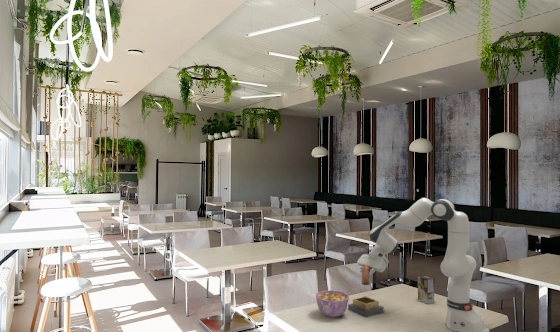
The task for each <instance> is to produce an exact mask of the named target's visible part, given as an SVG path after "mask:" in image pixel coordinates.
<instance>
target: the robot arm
mask: <svg viewBox="0 0 560 332" xmlns="http://www.w3.org/2000/svg"><path fill="white" fill-rule="evenodd" d="M430 216H434V218H436V219H439V220H442V221H445V222H447V246H446V251H445V256H444V257H443V260H442V261H441V263H440V266H439V267H440V271H441V273H442V274H443V275H444V276H446V277H447V278H450V281H449V283H448V284H447V298H446V306H447V307H446V309H447V311H446V317H445V321H444V325H445V326H446V328H447V330H451V331H454V332H457V331H458V332H490V329H489V328H487V327H485V320H484V319H483V318H482V317H481V315H479V314H478V313H477V312H476V311H475V309H473V307H474V305H475V304H472V303H471V301H470V288H471V283H472V279H473V276H474V275H473V274H474V272H475V270H476V268H477V262H476V259H475V258H474V257H473V256H471V255H469V254H467V252H468V250H469V248H470V245H471V243H470V239H471V238H470V237H471V236H470V232H471V231H470V222H469V217H468V215H467V214H466V213H465V212H463V211H457V210H456V206H455V204H454V202H453V201H451V200H450V199H447V198H440V199H437V200H435V201H432V200H431V199H429V198H427V197H421V198H420V199H418V200H417V201H415V202H414V203H413V204H412V205H411V206H410V207H409V208H408V209H407V210H404V211H397V212H395V213H394V214H393V215H390V217H388V218H387V219H385V220H384V221H383V222H381V223H380V224H378V225H377V226H375V227H373V228H372V229H371V230H370V232H369V234H368V235H369V240H370V242H373V243H374V244H375V245H374V246H373V247H372V249H371V250H370V252H369V253H367V252H365V253H363V254H362V255H361V256H360V257H359V258H358V259H357V262H356V263H357V265H358V266H359V267H362V265H367V266H370V272H368V275H370V277H371V276H372V275H373V274H374V273H376V272H379V273H383V272H385V270H386V269H387V266H388V264H389V262H390V260H389V259H388V258H387V256H386V254H394V253H395V252H396V251H397V249H398V248H399V241H398V239H396V238H395V237H393V236H392V235H391V234H390V233H388V232H387V231H386V230H387V229H389V228H390V227H392V226H393V225H395V224H400V225H404V226H407V227H411V228H415V227H419V226H421V225H422V224H423V223H424V222H425V221H426V220H427V219H428V218H429V217H430ZM359 270H360V271H359V272H360V273H361V274H362V269H359Z"/></svg>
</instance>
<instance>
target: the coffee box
mask: <svg viewBox="0 0 560 332" xmlns="http://www.w3.org/2000/svg"><path fill="white" fill-rule="evenodd" d="M417 300H418V301H419V302H422V303H424V304H427V305H430V304H434V303H435V278H434V277H432V276H428V275H425V274H424V275H418V276H417Z"/></svg>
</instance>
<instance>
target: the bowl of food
mask: <svg viewBox="0 0 560 332" xmlns="http://www.w3.org/2000/svg"><path fill="white" fill-rule="evenodd" d="M315 298H316V303H317V307H318V310H319V311H320V313H321V314H323V315H324V316H326V317H328V318H338V317H340V316H342V315H343V314H345V313H346V310H347V307H348V305H349V300H350V295H348V293H346V292H344V291H339V290H331V289H330V290H329V289H328V290H321V291H318V292H317V293H315Z"/></svg>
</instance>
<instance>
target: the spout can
mask: <svg viewBox="0 0 560 332" xmlns="http://www.w3.org/2000/svg"><path fill="white" fill-rule="evenodd" d="M361 269H362V273H361V284H362V285H364V286H369V285H371V276H370V275H368V272H370V271H371V269H370V266H367V265H362V267H361V266H359V270H361Z"/></svg>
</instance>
